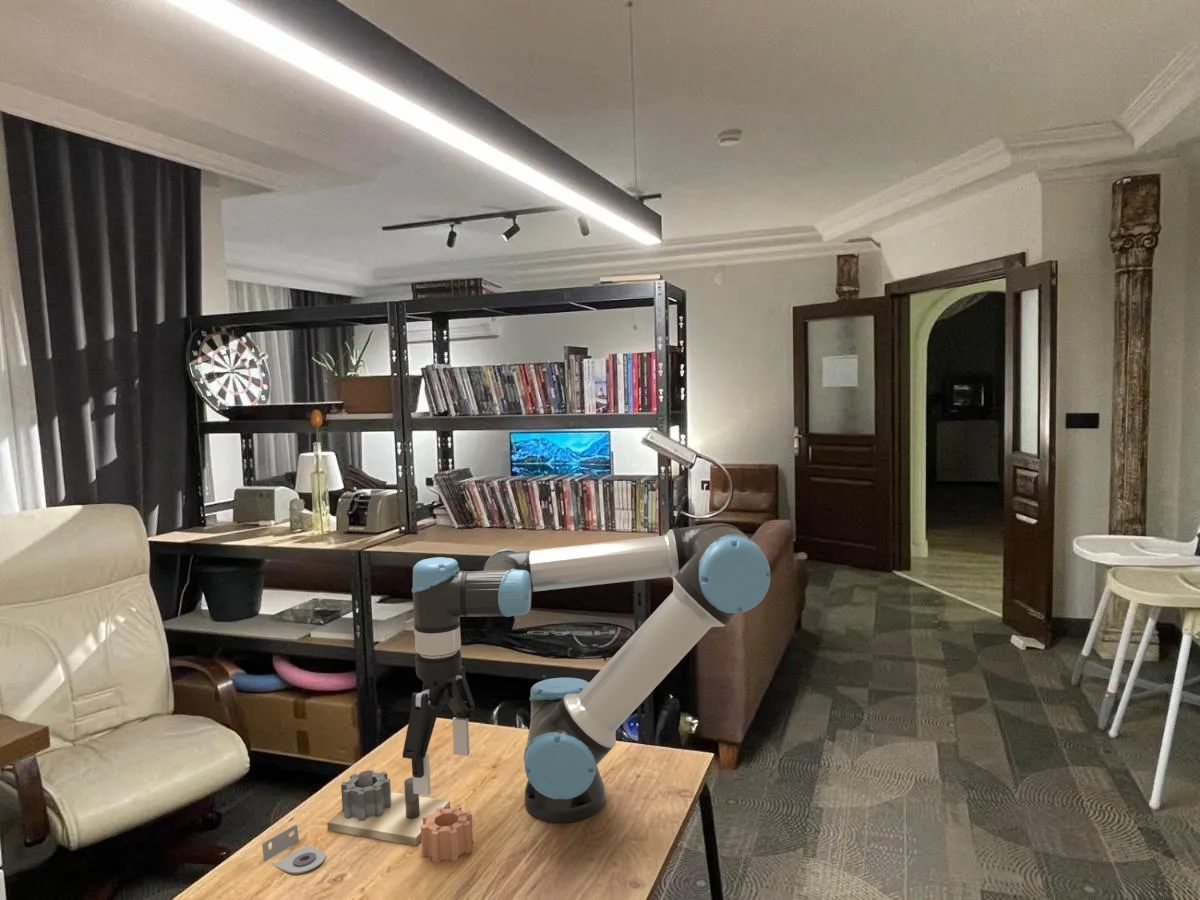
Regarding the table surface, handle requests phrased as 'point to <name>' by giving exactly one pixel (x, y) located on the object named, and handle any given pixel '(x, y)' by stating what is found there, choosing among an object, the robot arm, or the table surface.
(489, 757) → the table surface
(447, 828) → the gear
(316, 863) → the bracket
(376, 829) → the gear board
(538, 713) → the robot arm
